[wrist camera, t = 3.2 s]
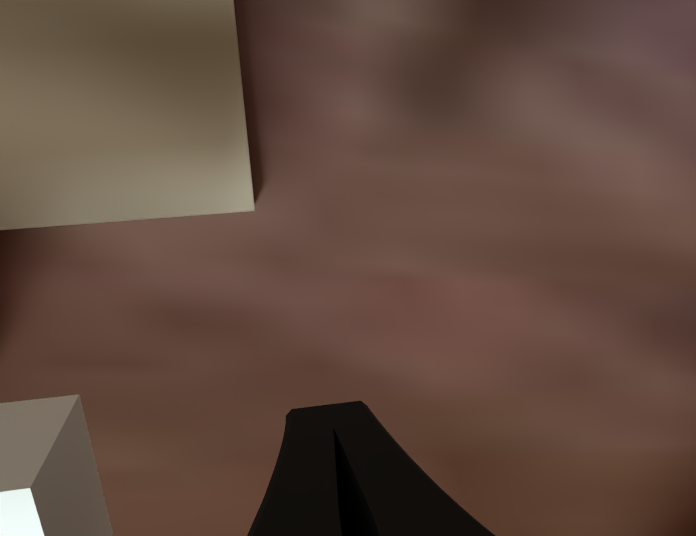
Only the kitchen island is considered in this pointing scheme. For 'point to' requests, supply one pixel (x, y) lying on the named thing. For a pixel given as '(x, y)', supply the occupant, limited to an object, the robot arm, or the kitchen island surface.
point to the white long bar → (49, 471)
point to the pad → (120, 111)
